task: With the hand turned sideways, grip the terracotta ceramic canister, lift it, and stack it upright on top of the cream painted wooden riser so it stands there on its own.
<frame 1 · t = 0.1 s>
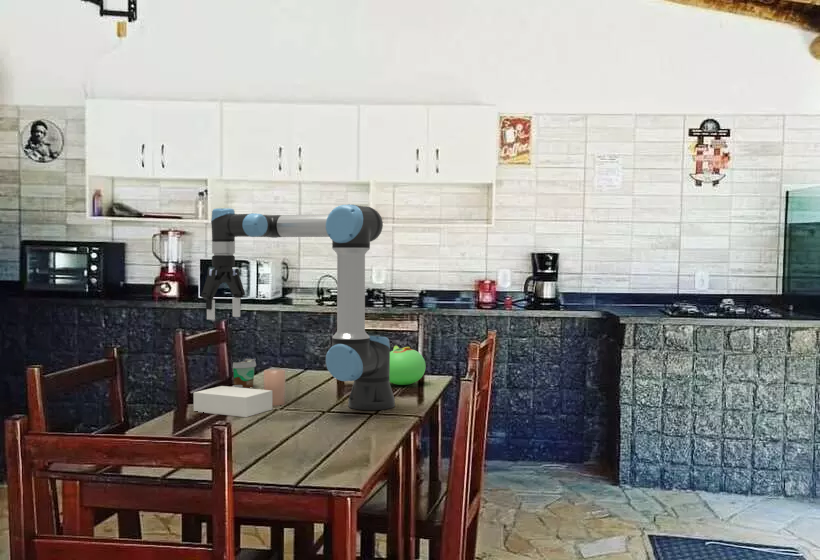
hand: (223, 318, 278), 28 cm above the table, tool pointing down, fingers open, 13 cm apart
terracotta canister: (274, 403, 274), on the table
cream riser: (233, 410, 262), on the table
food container: (247, 388, 305), on the table
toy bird: (402, 385, 314), on the table
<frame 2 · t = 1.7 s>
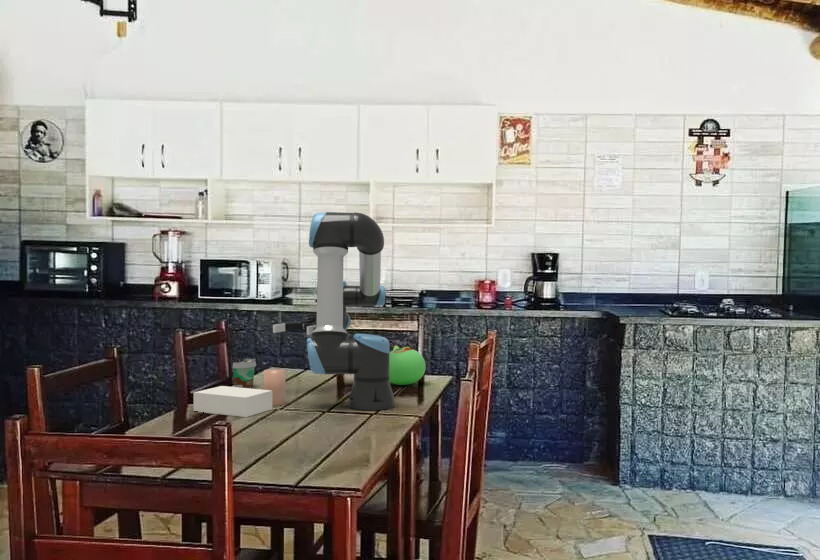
hand: (290, 329, 282), 24 cm above the table, tool horizontal, fingers open, 13 cm apart
nothing on the table moved.
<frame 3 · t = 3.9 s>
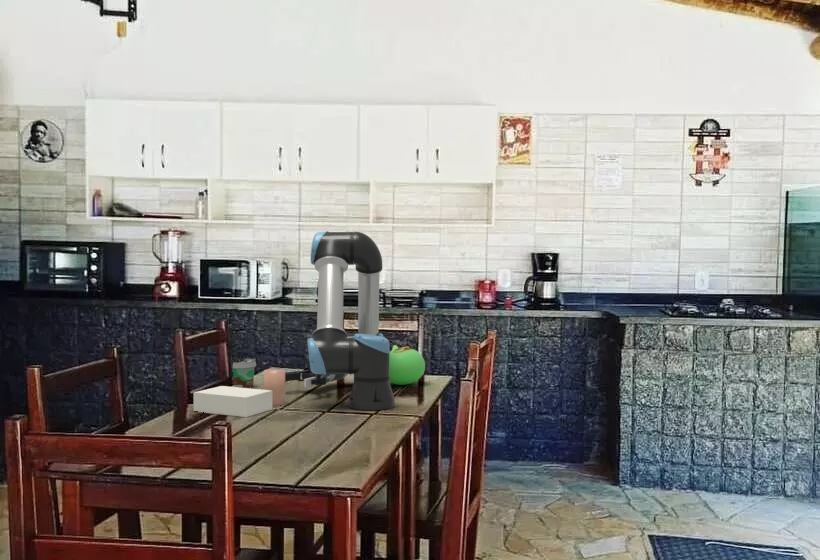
hand: (287, 382, 281), 6 cm above the table, tool horizontal, fingers open, 13 cm apart
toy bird: (402, 384, 314), on the table, touching arm
everything else where it was.
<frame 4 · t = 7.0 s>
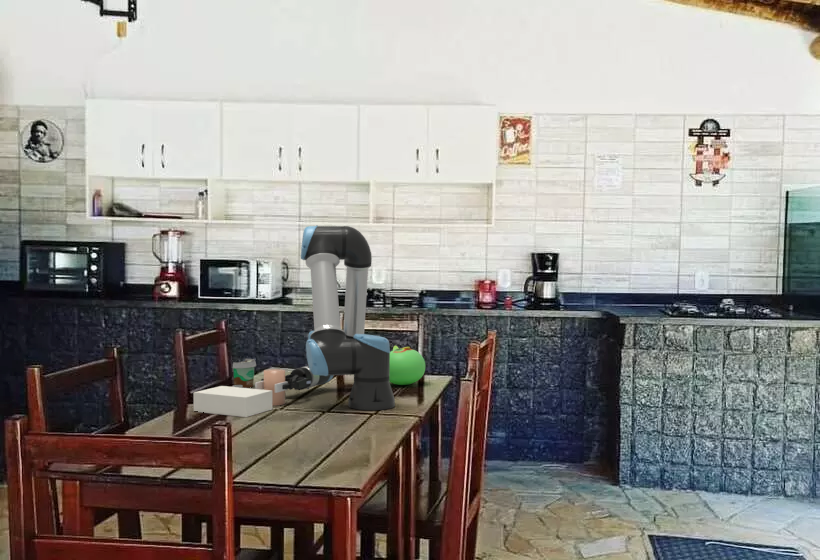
hand: (265, 387, 269), 6 cm above the table, tool horizontal, fingers closed on terracotta canister, 7 cm apart
terracotta canister: (274, 403, 274), on the table, touching gripper
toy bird: (402, 385, 314), on the table
everything else where it was.
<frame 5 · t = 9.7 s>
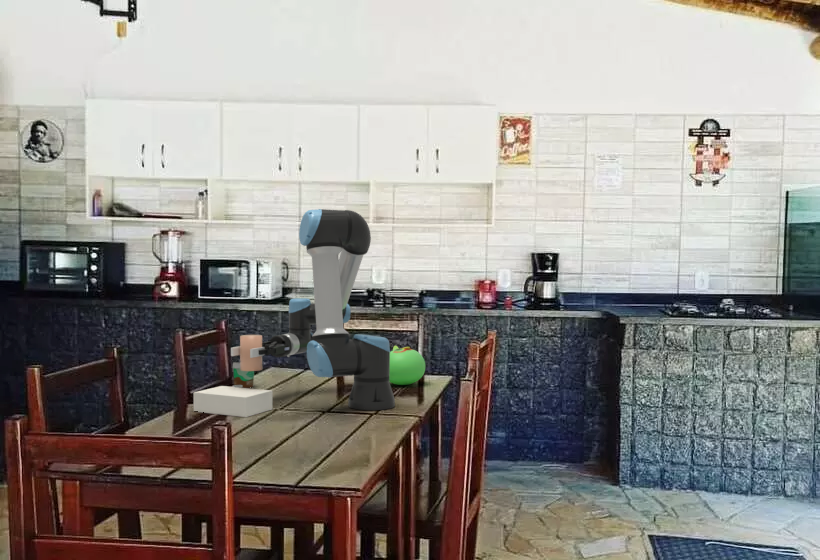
hand: (241, 352, 264), 18 cm above the table, tool horizontal, fingers closed on terracotta canister, 7 cm apart
terracotta canister: (251, 369, 269), point 12 cm above the table, touching gripper
everything else where it was.
when the fingers open (13 cm above the table, at t = 12.3 s): terracotta canister drops 1 cm, resting on cream riser.
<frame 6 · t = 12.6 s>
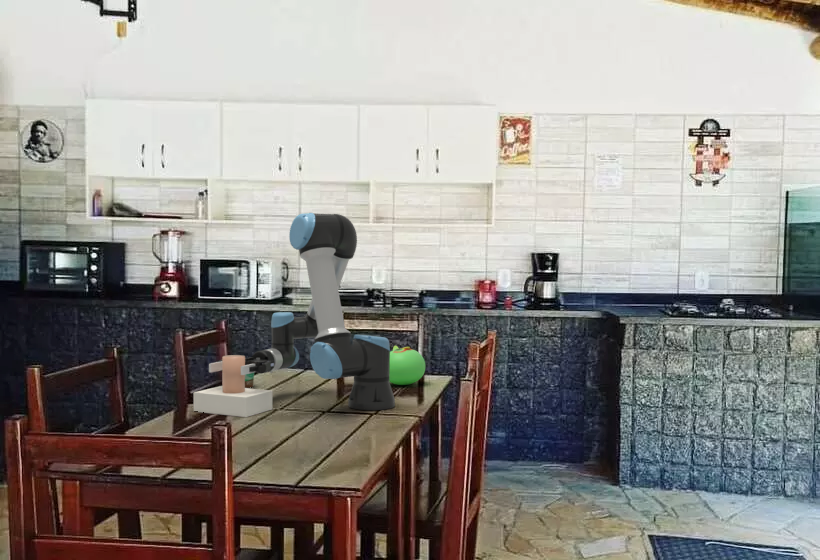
hand: (225, 369, 258), 13 cm above the table, tool horizontal, fingers open, 11 cm apart
terracotta canister: (233, 391, 262), point 6 cm above the table, touching cream riser
everything else where it was.
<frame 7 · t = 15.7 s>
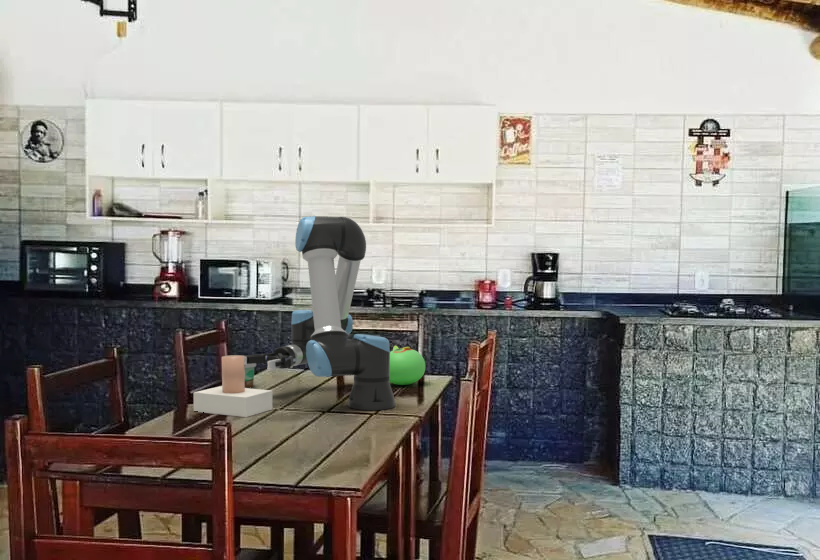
hand: (250, 364, 270), 14 cm above the table, tool horizontal, fingers open, 13 cm apart
nothing on the table moved.
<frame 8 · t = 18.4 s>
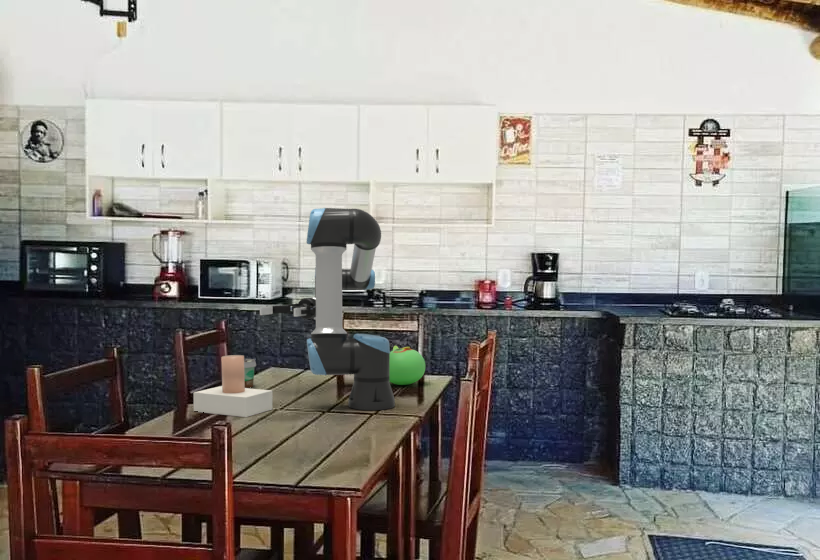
hand: (277, 311, 278), 30 cm above the table, tool horizontal, fingers open, 13 cm apart
nothing on the table moved.
at the end: terracotta canister inside the target area on the cream riser (0.1 cm from its centre), point 6.1 cm above the cream riser's base; terracotta canister tilted 1°; the gripper is holding nothing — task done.
